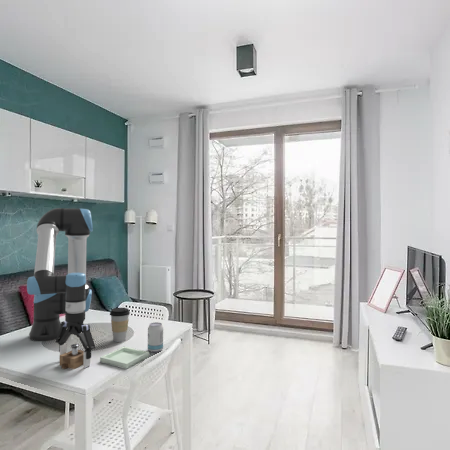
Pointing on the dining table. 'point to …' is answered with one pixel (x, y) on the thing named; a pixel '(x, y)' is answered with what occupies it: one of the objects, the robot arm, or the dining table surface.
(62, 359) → the brown rectangular frame
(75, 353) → the grey round-topped rod
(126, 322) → the coffee cup
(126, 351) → the tray
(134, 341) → the dining table surface
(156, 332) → the beverage can
